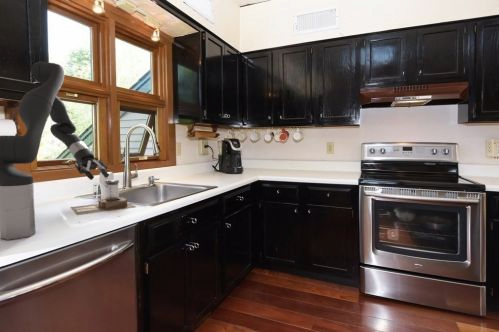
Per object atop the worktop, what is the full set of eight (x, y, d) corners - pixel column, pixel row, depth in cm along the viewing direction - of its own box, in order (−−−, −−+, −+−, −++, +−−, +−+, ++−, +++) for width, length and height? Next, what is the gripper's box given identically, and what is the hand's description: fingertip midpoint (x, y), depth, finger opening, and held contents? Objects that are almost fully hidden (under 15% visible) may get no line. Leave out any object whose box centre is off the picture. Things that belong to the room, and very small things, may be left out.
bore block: (136, 210, 132) (136, 200, 132) (77, 218, 117) (76, 207, 117) (124, 203, 146) (124, 195, 146) (70, 210, 131) (69, 200, 130)
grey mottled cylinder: (121, 206, 134) (120, 180, 133) (108, 207, 130) (107, 181, 129) (117, 204, 138) (117, 179, 137) (105, 205, 134) (104, 180, 133)
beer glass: (100, 199, 156) (100, 172, 154) (114, 198, 158) (114, 172, 157) (99, 202, 149) (98, 173, 148) (113, 201, 152) (113, 173, 150)
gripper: (71, 147, 131) (91, 173, 128) (97, 147, 144) (116, 171, 141) (63, 158, 133) (82, 184, 130) (90, 157, 146) (108, 181, 143)
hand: (100, 177), depth 135 cm, fingers open, 8 cm apart
